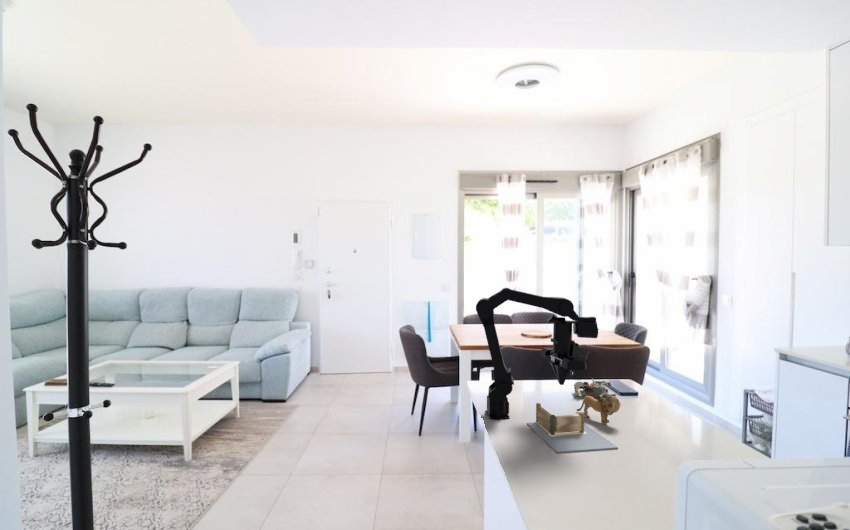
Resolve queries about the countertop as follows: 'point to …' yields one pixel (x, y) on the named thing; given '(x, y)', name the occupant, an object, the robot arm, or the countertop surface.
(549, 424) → the fixed plank
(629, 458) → the countertop surface
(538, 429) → the card
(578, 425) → the hinged plank
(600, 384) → the figurine
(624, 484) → the countertop surface
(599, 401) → the lion figurine
